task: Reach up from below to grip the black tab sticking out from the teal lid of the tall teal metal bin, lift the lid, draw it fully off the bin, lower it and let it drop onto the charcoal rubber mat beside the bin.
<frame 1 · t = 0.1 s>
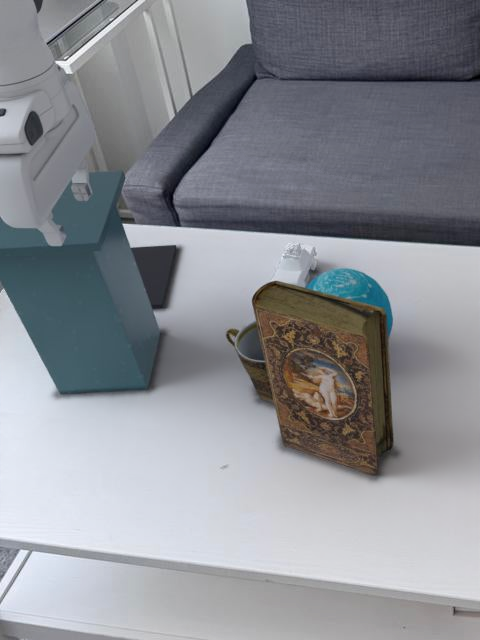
hand: (72, 219, 88), 33 cm above the table, tool pointing down, fingers open, 8 cm apart
ceramic cup: (271, 387, 117), on the table
lid: (48, 216, 102), point 26 cm above the table, touching bin
bin: (112, 362, 122), on the table
mat: (135, 279, 136), on the table
book: (335, 448, 109), on the table
decorative orb: (348, 357, 121), on the table
toy car: (296, 280, 134), on the table
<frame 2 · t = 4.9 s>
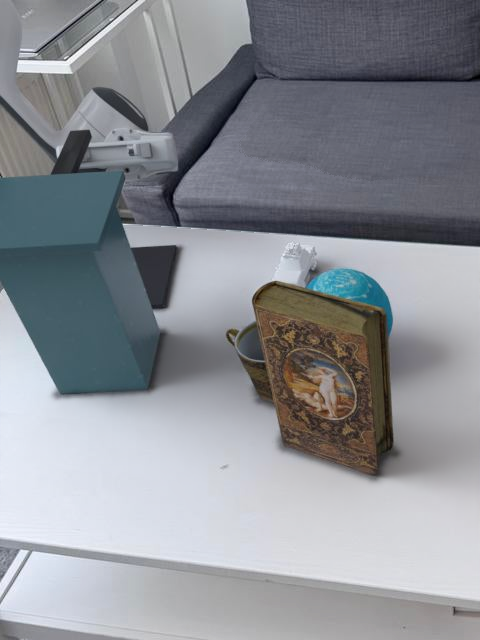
hand: (104, 151, 124), 20 cm above the table, tool pointing upward, fingers open, 8 cm apart
nothing on the table moved.
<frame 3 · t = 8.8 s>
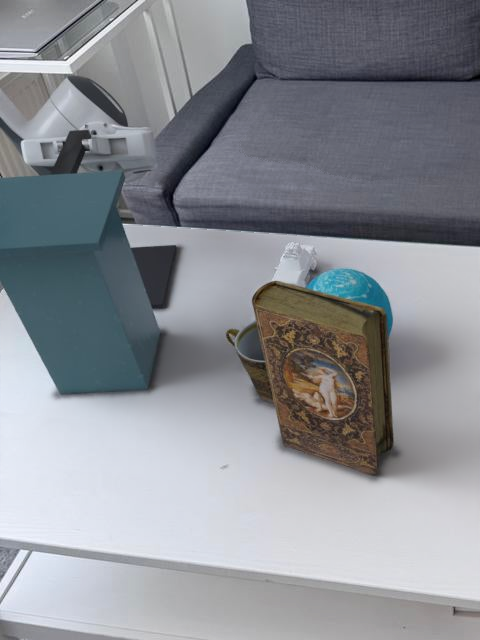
hand: (73, 146, 111), 27 cm above the table, tool pointing upward, fingers closed on lid, 3 cm apart
lid: (48, 216, 102), point 26 cm above the table, touching bin, gripper
everything else where it was.
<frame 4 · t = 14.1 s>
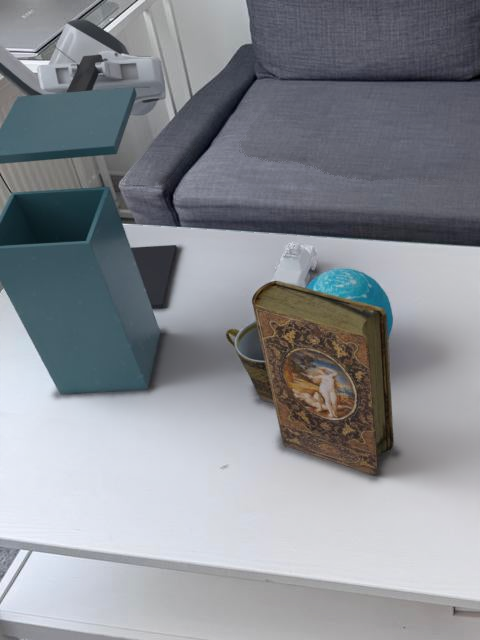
hand: (87, 69, 118), 31 cm above the table, tool pointing upward, fingers closed on lid, 3 cm apart
lid: (66, 128, 109), point 30 cm above the table, touching gripper
everything else where it was.
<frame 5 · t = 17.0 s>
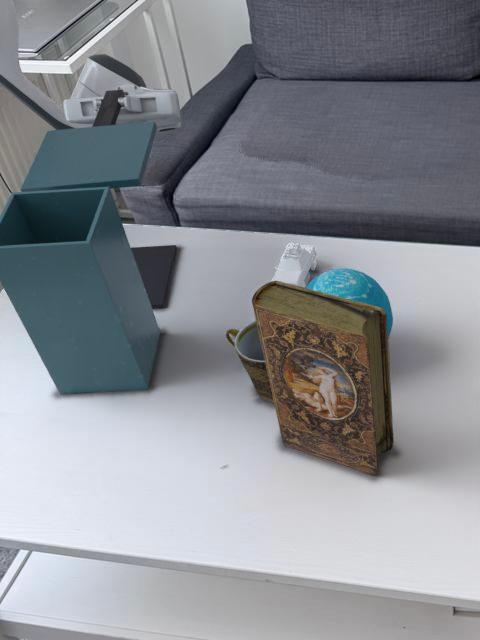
hand: (110, 103, 128), 23 cm above the table, tool pointing upward, fingers closed on lid, 3 cm apart
lid: (93, 160, 118), point 22 cm above the table, touching gripper
everything else where it was.
when the fingers open (15 cm above the table, at t = 19.5 s): lid drops 13 cm, resting on mat.
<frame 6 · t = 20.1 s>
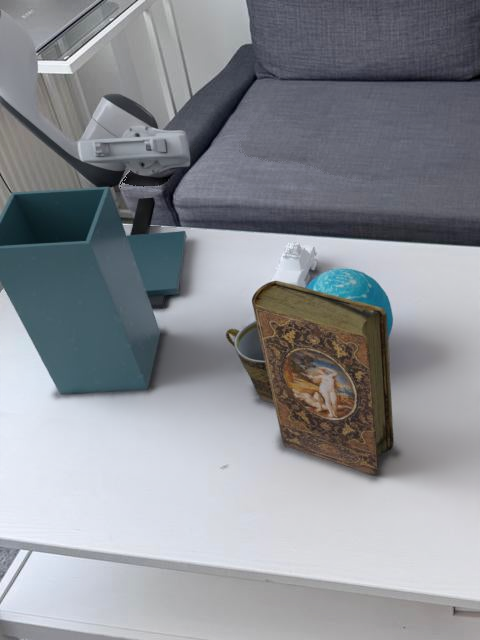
hand: (122, 146, 133), 16 cm above the table, tool pointing upward, fingers open, 8 cm apart
lid: (133, 268, 137), point 1 cm above the table, touching mat
everything else where it was.
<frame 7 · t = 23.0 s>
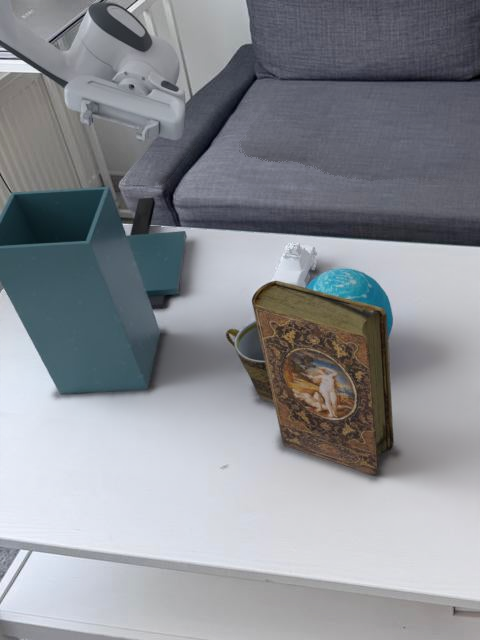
hand: (112, 128, 127), 21 cm above the table, tool horizontal, fingers open, 8 cm apart
nothing on the table moved.
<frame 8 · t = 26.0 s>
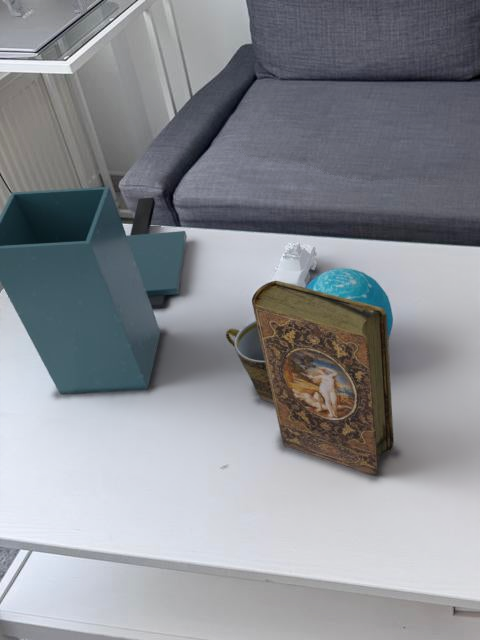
hand: (50, 13, 111), 39 cm above the table, tool pointing down, fingers open, 8 cm apart
nothing on the table moved.
at the end: lid moved 35.4 cm from its start; lid inside the target area on the mat (2.3 cm from its centre), point 0.8 cm above the mat's base; the gripper is holding nothing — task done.
